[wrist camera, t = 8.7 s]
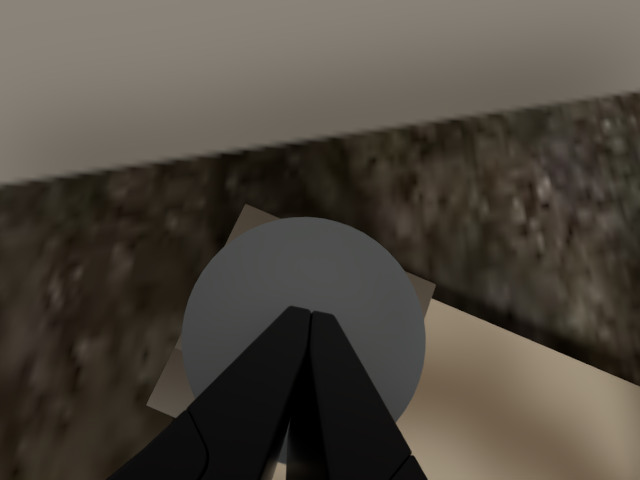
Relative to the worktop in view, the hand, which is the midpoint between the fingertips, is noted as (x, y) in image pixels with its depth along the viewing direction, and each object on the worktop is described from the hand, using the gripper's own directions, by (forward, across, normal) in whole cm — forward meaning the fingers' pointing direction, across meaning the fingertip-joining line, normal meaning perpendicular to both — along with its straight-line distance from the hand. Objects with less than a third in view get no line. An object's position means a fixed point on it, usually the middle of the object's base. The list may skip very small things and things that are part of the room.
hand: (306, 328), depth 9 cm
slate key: (+3, 0, +3) cm, 4 cm away
